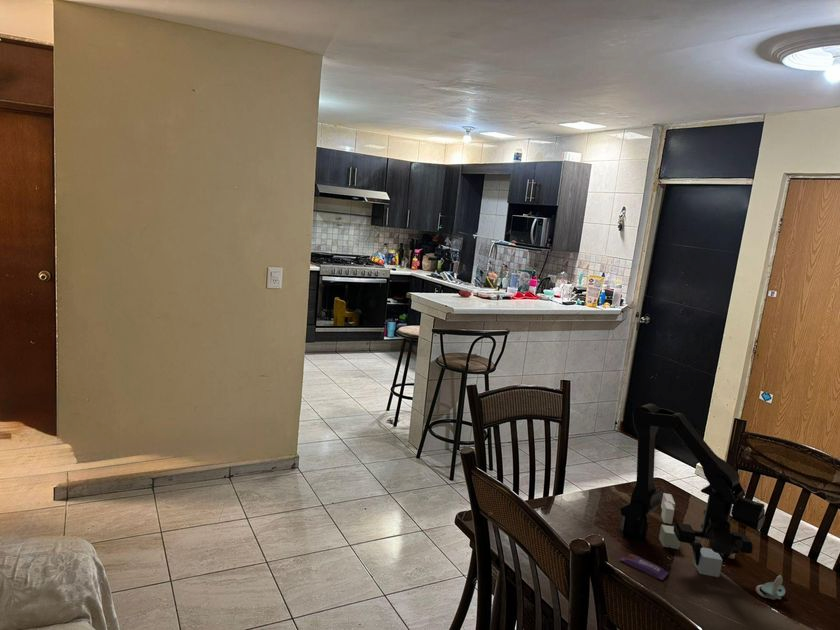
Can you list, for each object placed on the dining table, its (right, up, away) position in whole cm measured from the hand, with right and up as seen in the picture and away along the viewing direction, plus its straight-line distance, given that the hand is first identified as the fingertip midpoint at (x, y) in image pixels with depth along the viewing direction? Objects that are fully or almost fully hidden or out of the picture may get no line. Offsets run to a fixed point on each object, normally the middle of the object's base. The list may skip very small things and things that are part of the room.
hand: (706, 566), depth 156 cm
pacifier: (+12, -4, -8) cm, 15 cm away
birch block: (+10, -1, +10) cm, 14 cm away
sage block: (-5, +1, +12) cm, 13 cm away
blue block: (0, -1, 0) cm, 1 cm away
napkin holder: (+1, +3, +29) cm, 29 cm away
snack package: (-18, 0, -2) cm, 18 cm away
